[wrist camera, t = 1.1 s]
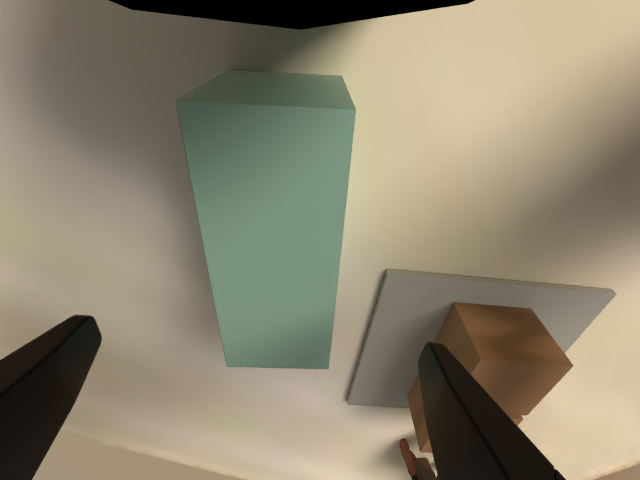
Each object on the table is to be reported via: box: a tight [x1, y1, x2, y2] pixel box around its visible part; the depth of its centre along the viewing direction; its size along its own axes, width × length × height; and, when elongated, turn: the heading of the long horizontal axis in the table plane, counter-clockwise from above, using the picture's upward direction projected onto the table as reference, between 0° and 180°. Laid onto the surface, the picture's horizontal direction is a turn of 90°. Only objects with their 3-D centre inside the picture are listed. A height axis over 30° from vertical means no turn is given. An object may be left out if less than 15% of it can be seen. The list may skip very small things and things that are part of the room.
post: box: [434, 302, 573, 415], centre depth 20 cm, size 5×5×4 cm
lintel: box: [176, 70, 356, 369], centre depth 14 cm, size 11×4×6 cm, turn 177°
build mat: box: [347, 269, 616, 408], centre depth 23 cm, size 14×14×1 cm
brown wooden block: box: [407, 373, 523, 453], centre depth 23 cm, size 5×5×4 cm
